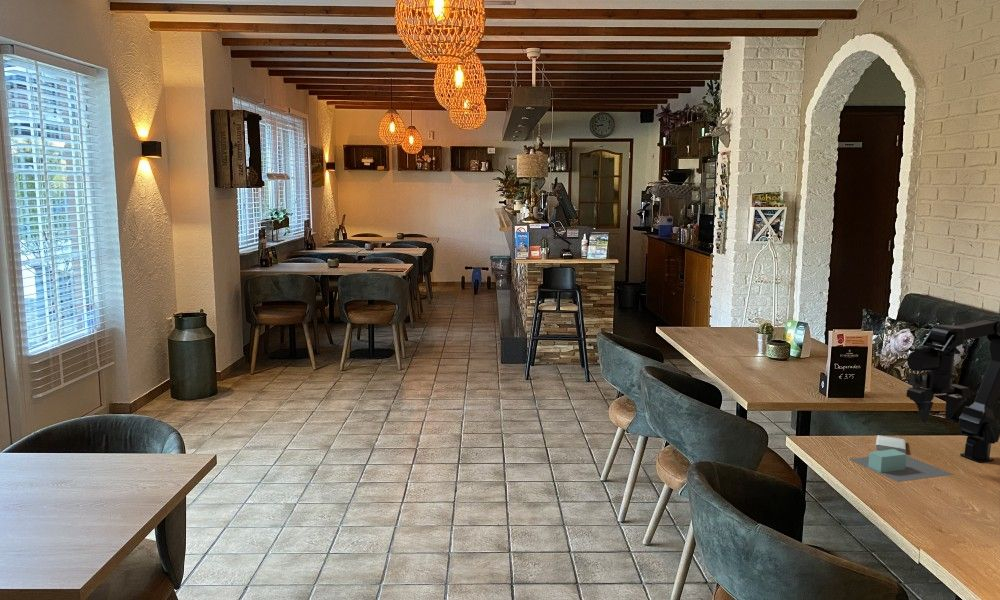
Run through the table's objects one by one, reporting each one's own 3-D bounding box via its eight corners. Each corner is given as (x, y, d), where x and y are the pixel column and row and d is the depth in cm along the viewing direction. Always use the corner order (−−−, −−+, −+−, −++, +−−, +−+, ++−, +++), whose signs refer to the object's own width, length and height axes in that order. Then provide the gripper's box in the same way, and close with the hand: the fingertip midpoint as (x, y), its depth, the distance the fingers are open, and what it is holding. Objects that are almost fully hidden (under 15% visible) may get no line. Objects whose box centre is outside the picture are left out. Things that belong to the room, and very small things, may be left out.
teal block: (894, 449, 219) (869, 451, 216) (906, 454, 215) (881, 457, 212) (892, 463, 219) (868, 466, 217) (905, 469, 215) (880, 472, 212)
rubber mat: (900, 454, 229) (901, 452, 229) (952, 475, 212) (953, 474, 212) (848, 460, 223) (848, 459, 223) (897, 482, 206) (897, 481, 206)
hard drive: (905, 449, 228) (905, 438, 239) (875, 444, 231) (876, 434, 242) (905, 454, 228) (905, 443, 239) (875, 449, 232) (876, 439, 243)
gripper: (941, 361, 228) (936, 411, 230) (893, 364, 222) (888, 415, 224) (975, 369, 217) (969, 422, 219) (925, 373, 211) (920, 427, 213)
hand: (935, 421), depth 219 cm, fingers open, 9 cm apart
